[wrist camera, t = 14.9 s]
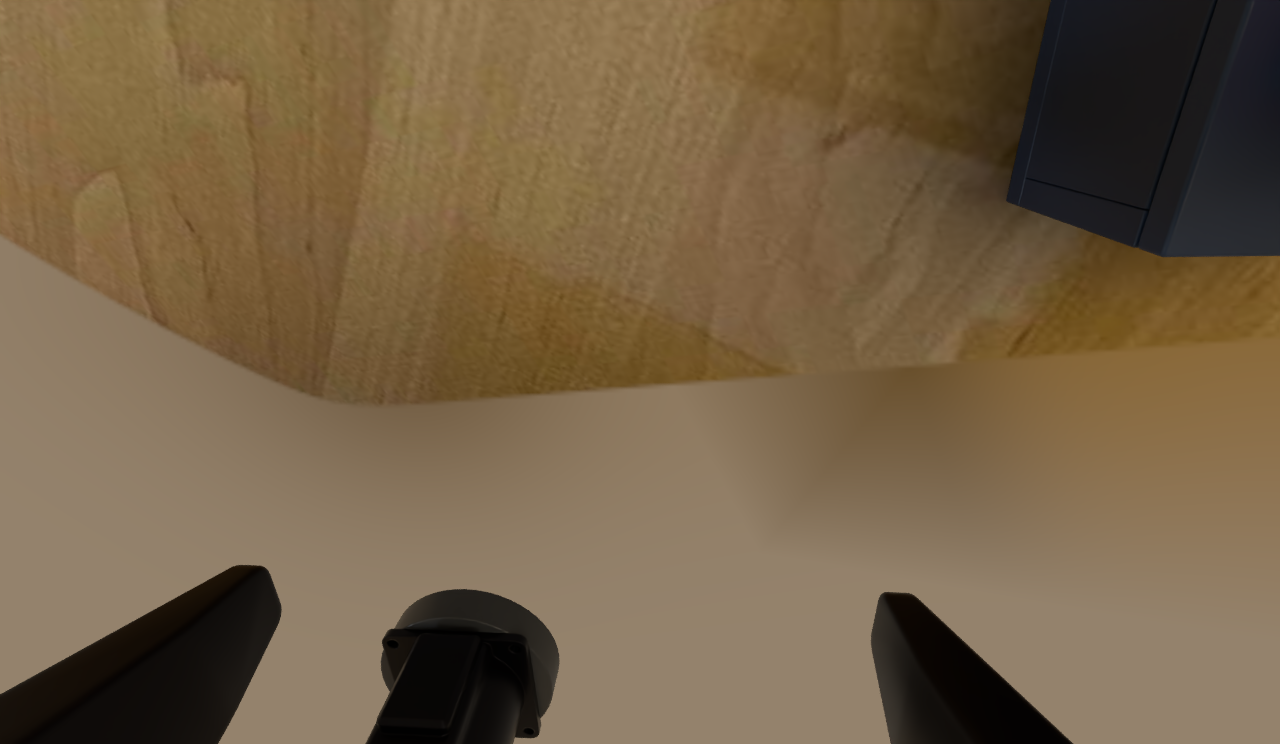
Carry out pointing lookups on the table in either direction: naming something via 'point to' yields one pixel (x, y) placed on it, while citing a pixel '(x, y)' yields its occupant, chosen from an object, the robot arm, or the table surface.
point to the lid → (1225, 144)
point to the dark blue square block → (1106, 110)
